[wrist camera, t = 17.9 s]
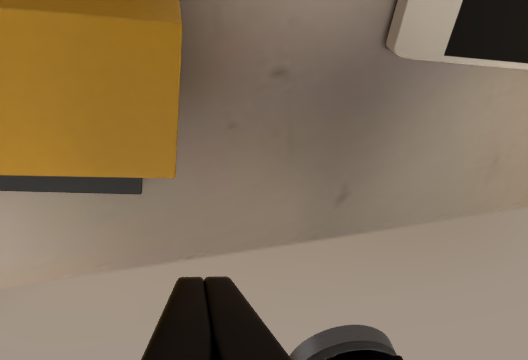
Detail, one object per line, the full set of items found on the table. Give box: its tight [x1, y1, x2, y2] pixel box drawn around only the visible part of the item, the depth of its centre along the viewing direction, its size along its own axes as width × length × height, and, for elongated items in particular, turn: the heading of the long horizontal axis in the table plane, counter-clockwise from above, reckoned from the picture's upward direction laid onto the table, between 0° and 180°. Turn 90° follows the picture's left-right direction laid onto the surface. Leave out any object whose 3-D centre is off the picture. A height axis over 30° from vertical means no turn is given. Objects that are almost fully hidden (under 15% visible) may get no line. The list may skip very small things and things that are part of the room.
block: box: [0, 0, 182, 178], centre depth 14 cm, size 4×4×9 cm
